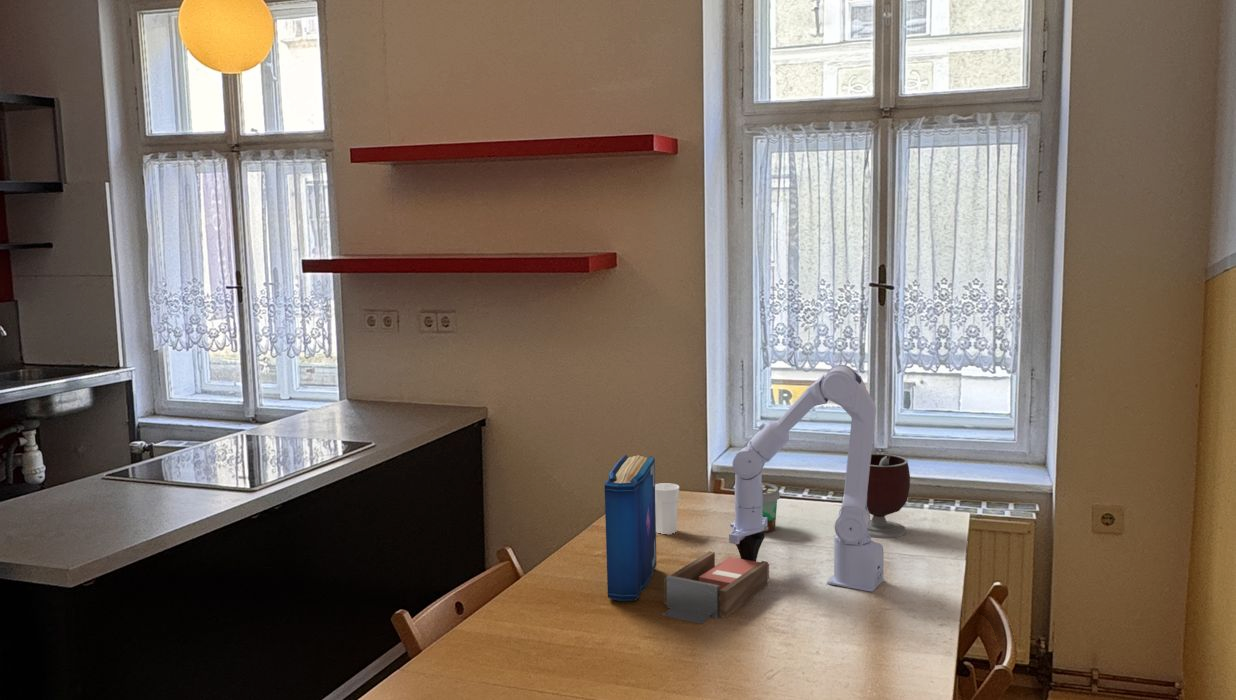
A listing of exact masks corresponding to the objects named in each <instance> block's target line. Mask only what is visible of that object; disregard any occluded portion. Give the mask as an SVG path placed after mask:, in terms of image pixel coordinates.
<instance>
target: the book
mask: <svg viewBox="0 0 1236 700" xmlns="http://www.w3.org/2000/svg"><path fill="white" fill-rule="evenodd" d="M655 465H656V464H655V457H654V456H652V455H650V456H649V457H647V456H646V457H645V456H643V455H642V456H641V455H634V456H628V455H627V454H625V455H623V456H622V457H621V458H620V459H619V460H618V461H617V462H616V463H615V464H614V466H613V468H612V469H611V470H610V472H609V473H608V480H606V481H605V482H604V509H605V510H604V513H605V539H606V540H605V541H606V542H605V547H606V574H607V575H606V581H607V586H606V587H607V598H608V599H611V600H614V601H620V602H631V601H632V602H634V601H636V600H638V599H639V597H640V596H641V594H642V592H643V591H645V590H646V588H647V586H648V585H649V582H650V580H651V579H652V577H653V575H654V572H655V570H656V567H657V533H656V510H655V484H656V469H655ZM641 591H642V592H641Z"/></svg>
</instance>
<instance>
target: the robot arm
mask: <svg viewBox="0 0 1236 700" xmlns="http://www.w3.org/2000/svg"><path fill="white" fill-rule="evenodd" d="M870 394H871V393H870V392H869V390H868V389H867V387H866V385H865V383H864V380H863V378H862V376H861V375H860V374H859V373H857V372H856V371H855V370H854V369H853V368H852V367H850V366H849V365H845V364H837V365H834V366H833V367H831V368H830V369H829V370H828V372H827V373H826V374H823V375H822V376H821V377H819V378H818V379H816V380H815V381H814V382H813V383H812V384H811V385H809V386H808V387H807V388H806V389H805V391H804V392H803V393H801V395H800V396H799V397H798V398H797V399H796V400H795V401H794V402H793V404H791V406H790V407H789V408H788V409H787V410H786V412H785V413H783V415H781V417H780V418H779V419H778V420H768V421H767V422H766V423H764V422H762V423H761V424H760V425H759V427H758V430H759V431H758V432H757V433H755V435H753V436H752V438H751V439H750V440H746V441H745V442H744V443H743V446H744V447H742V448H741V449H740V450H739V451H738V452H737V453H736V454H735V456H734V458H733V459H732V469H733V472H734V474H735V475H734V480H735V483H734V521H732V522H730V523H729V527H730V528H732V530H731V532H730V533H729V534H728V543H729V544H733V545H735V546H736V548H737V550H738V553H739V557H740V559H745V560H750V561H756V562H757V558H758V555H759V552H760V549H761V545H762V544H763V541H764V540H765V538H766V537H765V536H766V534H763V533H759V532H761V531H763V529H764V527H766V526H767V517H762V483H763V482H762V481H763V479H762V473H763V472H762V471H761V470H762V469H763V468H764V466H765V464H766V463H768V462H770V461H771V460H772V459H773V458H774V457H775V456H776V455H777V453H779V452H780V450H781V449H782V448H783V447H784V446H785V445H786V444H787V443H788V442H789V441H790V431H791V429H793V427H795V425H797V424H798V423H799V422H800V421H801V420H802V419H803V418H804V417H805V416H806V415H807V414H809V412H810V411H811V410H812V409H813V408H814V407H817V406H822V405H825V404H828V402H829V401H830V402H831V403H834V404H836V405H838V406H839V407H841V408H842V409H843V411H845V412H846V413H847V414H848V415H849V416H850V418H851V420H850V421H851V422H850V432H849V441H848V448H847V449H848V452H847V461H846V470H845V479H844V490H843V497H842V503H841V507H840V508H839V511H838V517H837V519H836V520H835V522H834V532H835V534H834V536H833V537H834V538H833V539H834V540H833V542H834V544H833V547H834V548H833V551H834V552H833V576H831V577H830V578H829V579H828V580H826V584H829V585H833V586H838V587H843V588H844V587H845V588H849V589H850V588H851V589H855V590H861V591H865V592H873V591H874V590H876V588H878V587H879V586H880V585H881V584H882V582H884V581H885V577H884V555H885V554H884V548H883V545H882V544H881V543H878V542H876V541H873V540H872V537H871V536H870V535H869V534H868V532H867V527H868V524H869V521H870V520H871V514H869V511H868V508H867V490H868V481H869V472H870V463H871V454H873V453H872V451H873V442H874V441H873V440H874V435H875V434H874V432H875V426H876V425H875V424H876V417H877V416H876V413H877V407H876V404H875V402H874V401H873V397H872V396H871V395H870Z"/></svg>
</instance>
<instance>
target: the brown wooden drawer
mask: <svg viewBox="0 0 1236 700" xmlns="http://www.w3.org/2000/svg"><path fill="white" fill-rule="evenodd" d="M715 555H716V552H714V551H708V552H706V553H704V554H703V555H702V556H700V557H698V558H696V559H695V560H693V561H691V562H690V563H688V564H687V565H685V566H683V567H682V568H680V569H678V570H677V571H675V572H674V573H673V572H672V574H670V576H675V577H680V578H685V579H690V580H695V581H699V576H701V575H702V574H704V573H705V572H707V571H709V570H710V569H712V568H713V567H715V566H716V563H715V562H716V559H715V558H716V556H715ZM759 562H760V563H759V564H757V565H756V566H754V567H753V568H751V569H750V570H748V571H747V572H746V573H744V574H743V575H741V576H740V577H738V578H737V579H735V580H734V581H733V582H731V583H730V584H728V585H727V586H725V587H724V588H722V589H721V590H720V616H719V617H723V618H727V617H728V616H729V615H731V614H732V613H733V612H735V611H736V610H737V609H739V608H741V607H742V606H743V605H745V604H746V603H747V602H748V601H750V600H751V599H752V598H753V597H755V596H756V595H757V594H759V593H760V592H761V591H763V590H765V588H767V587H768V586H769V579H768V564H769V562H768V561H765V560H762V561H759ZM663 588H664V589H663V590H664V591H663V594H664V595H663V596H664V598H663V599H664V600H663V601H664V605H666V604H667V577H665V578H664V579H663Z"/></svg>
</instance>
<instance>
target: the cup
mask: <svg viewBox="0 0 1236 700" xmlns="http://www.w3.org/2000/svg"><path fill="white" fill-rule="evenodd" d="M679 499H680V485H678V484H676V483H670V482H669V483H668V482H663V483H655V510H656V532H657V533H656V534H658V533H661V534H660V535H662V534H667V535H673V534H672V533H674V534H676V533H677V528H678V525H677V524H678V522H677V521H678V503H679ZM675 532H676V533H675Z"/></svg>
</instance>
